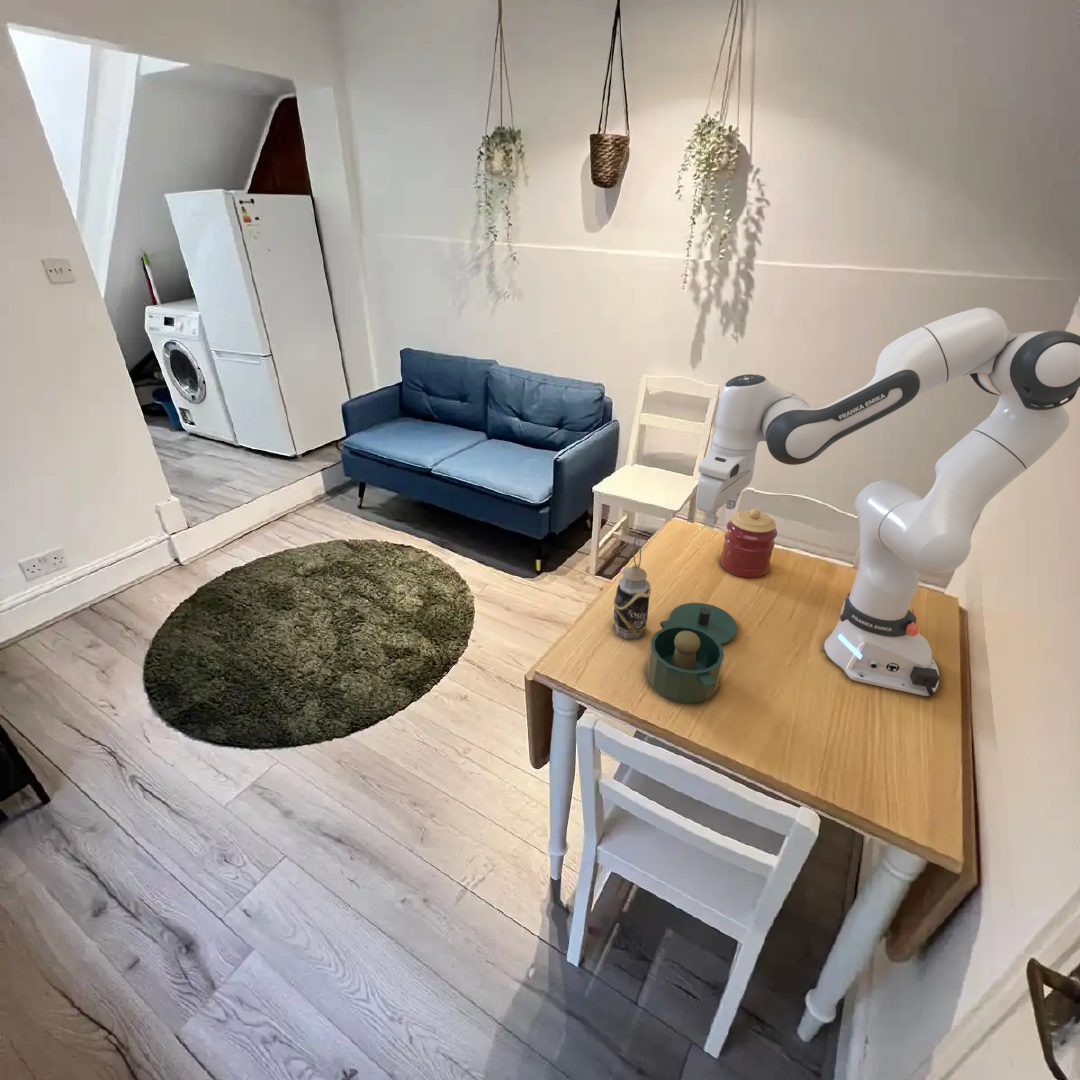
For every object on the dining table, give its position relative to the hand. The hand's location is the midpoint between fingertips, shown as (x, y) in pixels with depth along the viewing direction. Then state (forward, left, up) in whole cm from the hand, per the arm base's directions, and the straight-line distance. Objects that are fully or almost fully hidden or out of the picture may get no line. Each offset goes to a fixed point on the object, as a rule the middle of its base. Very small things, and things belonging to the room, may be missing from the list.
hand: (720, 515), depth 124 cm
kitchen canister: (-3, -30, -29) cm, 42 cm away
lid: (-1, +2, -28) cm, 29 cm away
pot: (-2, +21, -29) cm, 36 cm away
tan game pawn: (-2, +21, -29) cm, 36 cm away
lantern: (+14, +12, -29) cm, 35 cm away
